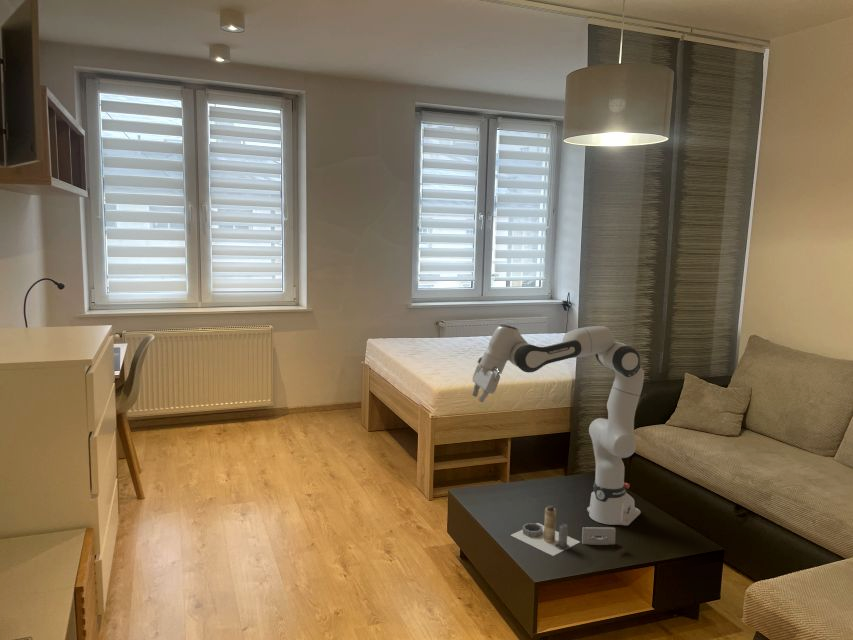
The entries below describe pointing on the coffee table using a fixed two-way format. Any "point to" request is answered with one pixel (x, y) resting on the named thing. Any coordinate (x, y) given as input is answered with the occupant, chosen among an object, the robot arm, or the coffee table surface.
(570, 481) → the coffee table surface
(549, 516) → the wooden leg
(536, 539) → the plate
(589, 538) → the cassette
